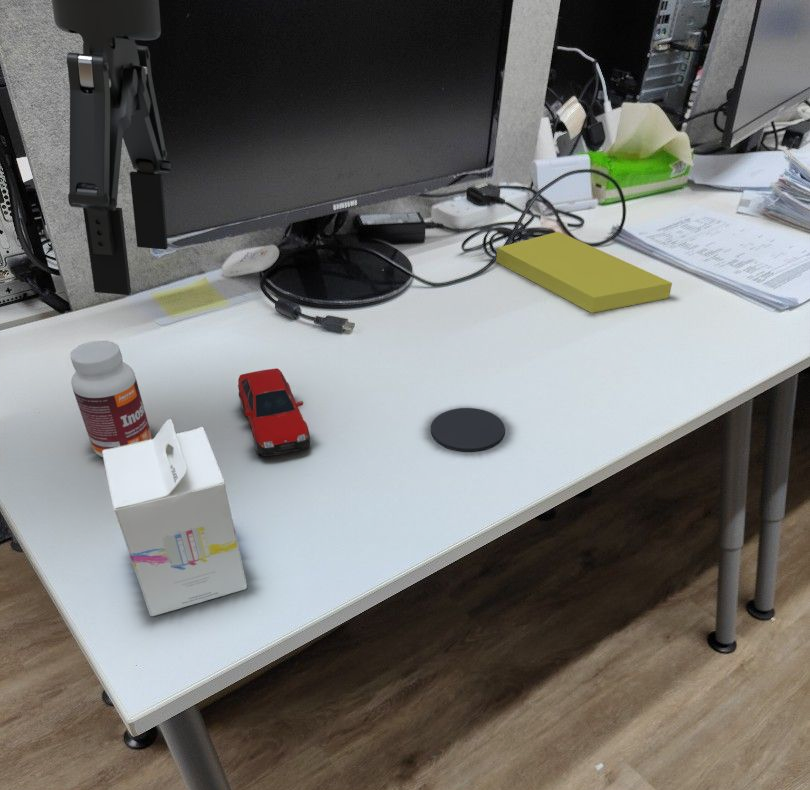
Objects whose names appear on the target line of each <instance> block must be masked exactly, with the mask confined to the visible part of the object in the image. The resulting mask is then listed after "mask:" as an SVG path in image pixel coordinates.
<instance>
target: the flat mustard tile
mask: <svg viewBox="0 0 810 790" xmlns="http://www.w3.org/2000/svg"><path fill="white" fill-rule="evenodd" d="M495 261H496V263H497V264H499V265H501V266H503V267H505V268H507V269H508V270H510V271H512V272H514V273H516V274H518V275H519V276H522V277H524V278H525V279H527V280H529V281H531V282H532V283H535V284H537V285H539V286H540V287H542V288H544V289H546V290H548V291H550V292H551V293H553V294H555V295H557V296H559V297H561V298H563V299H564V300H566V301H568V302H570V303H572V304H574V305H576V306H578V307H579V308H581V309H583V310H585V311H587V312H589V313H591V314H593V313H599V312H604V311H609V310H615V309H619V308H625V307H629V306H636V305H640V304H645V303H646V304H647V303H651V302H657V301H660V300H661V301H662V300H666V299H670V295H671V290H672V286H673V282H671V281H669V280H668V279H667V280H666V279H665V278H663V277H660V276H658V275H656V274H655V273H654V274H653V273H652V272H649V271H647V270H645V269H643V268H640V267H638V266H636V265H634V264H632V263H629V262H627V261H625V260H623V259H620V258H618V257H616V256H614V255H612V254H610V253H607V252H605V251H603V250H601V249H599V248H596V247H595V246H592V245H589V244H587V243H585V242H583V241H581V240H579V239H577V238H574V237H572V236H569V235H568V234H566V233H563V232H561V231H556V232H551V233H548V234H543V235H540V236H537V237H532V238H529V239H524V240H522V241H517V242H513V243H510V244H505V245H502V246H499V247H498V246H497V247H496V260H495Z"/></svg>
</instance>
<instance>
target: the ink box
mask: <svg viewBox="0 0 810 790" xmlns="http://www.w3.org/2000/svg"><path fill="white" fill-rule="evenodd" d="M175 429H176V428H175V425H174V423H173V420H172V419H171V418H169V419H166V421H165V422H164V424H162V426H161V428H160V429H159V430H158V432H157V434H156V435H155V436H154V437H153V438H151V440H146V441H141V442H136V443H132V444H128V445H123V446H119V447H114V448H111V449H105V450H103V451H102V454H103V457H102V460H103V464H104V470H105V475H106V480H107V485H108V490H109V495H110V501H111V503H112V510H113V511H114V513H115V516H116V519H117V522H118V525H119V528H120V531H121V534H122V536H123V537H122V538H123V539H124V543H125V546H126V549H127V551H128V555H129V558H130V561H131V563H132V567H133V570H134V572H135V575H136V578H137V581H138V583H139V586H140V589H141V593H142V595H143V599H144V601H145V602H144V603H145V604H146V608H147V610H148V611H147V612H148V614H149V616H150V617H155V616H159V615H162V614H165V613H169V612H172V611H173V612H174V611H176V610H180V609H183V608H186V607H189V606H193V605H196V604H200V603H203V602H207V601H209V600H213V599H217V598H220V597H224V596H227V595H231V594H233V593H237V592H242V591H244V590H246V589H247V588H248V582H247V578H246V574H245V572H244V564H243V560H242V555H241V552H240V546H239V541H238V537H237V533H236V529H235V525H234V519H233V515H232V511H231V507H230V502H229V498H228V492H227V488H226V483H225V479H224V476H223V474H222V471H221V469H220V465H219V463H218V461H217V458H216V455H215V453H214V451H213V450H214V449H213V448H212V446H211V442H210V440H209V438H208V436H207V433H206V430H205V428H204V427H203V426H200V427H197V428H194V429H190V430H185V431H181V432H178V433H176V430H175Z"/></svg>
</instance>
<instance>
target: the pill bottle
mask: <svg viewBox="0 0 810 790" xmlns="http://www.w3.org/2000/svg"><path fill="white" fill-rule="evenodd" d="M69 356H70V357H69V358H70V360H71V364H72V367H73V369H74V371H75V372H74V373H73V375H72V377H71V383H70V384H71V388H72V392H73V393H74V397H75V401H76V403H77V406H78V409H79V412H80V414H81V417H82V421H83V424H84V427H85V430H86V433H87V436H88V439H89V441H90V444H91V447H92V450H93V451H94V453H95V454H97V455H98V456H99V457H101V458H103V454H102V451H103V450H105V449H111V448H114V447H119V446H123V445H128V444H132V443H136V442H141V441H146V440H151V439H152V432H151V428H150V424H149V421H148V417H147V414H146V409H145V406H144V405H145V404H144V402H143V399H142V395H141V392H140V389H139V385H138V381H137V376H136V375H135V374H136V373H135V371H134V369H133V368H132V366H130V365H129V364H128V363H126V362H124V361H123V359H124V358H123V355H122V351H121V348H120V346H119V344H118V343H116V342H114V341H110V340H94V341H88V342H85V343H84V342H83V343H81V344H79V345H77V346H76V347H74V348H73V349H72V350H71V351H70V354H69Z"/></svg>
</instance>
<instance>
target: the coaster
mask: <svg viewBox="0 0 810 790" xmlns="http://www.w3.org/2000/svg"><path fill="white" fill-rule="evenodd" d="M430 433H431V436H432V438H433V440H435V442H436V443H438V444H439V445H441V446H443V447H444V448H447V449H450V450H453V451H458V452H471V453H472V452H480V451H486V450H488V449H491V448H493V447H495V446H497V445H498V444H499V443H500V442H501V441H502V440H503V439H504V436H505V433H506V426H505V424H504V421H503V420H502V419H501V418H500V417H498V416H497V415H496V414H494V413H492V412H490V411H487V410H484V409H481V408H475V407H460V408H453V409H449V410H446V411H445V412H442V413H440V414H439V415H437V416H436V417H435V418H434V419H433V420H432V422H431V425H430Z"/></svg>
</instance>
